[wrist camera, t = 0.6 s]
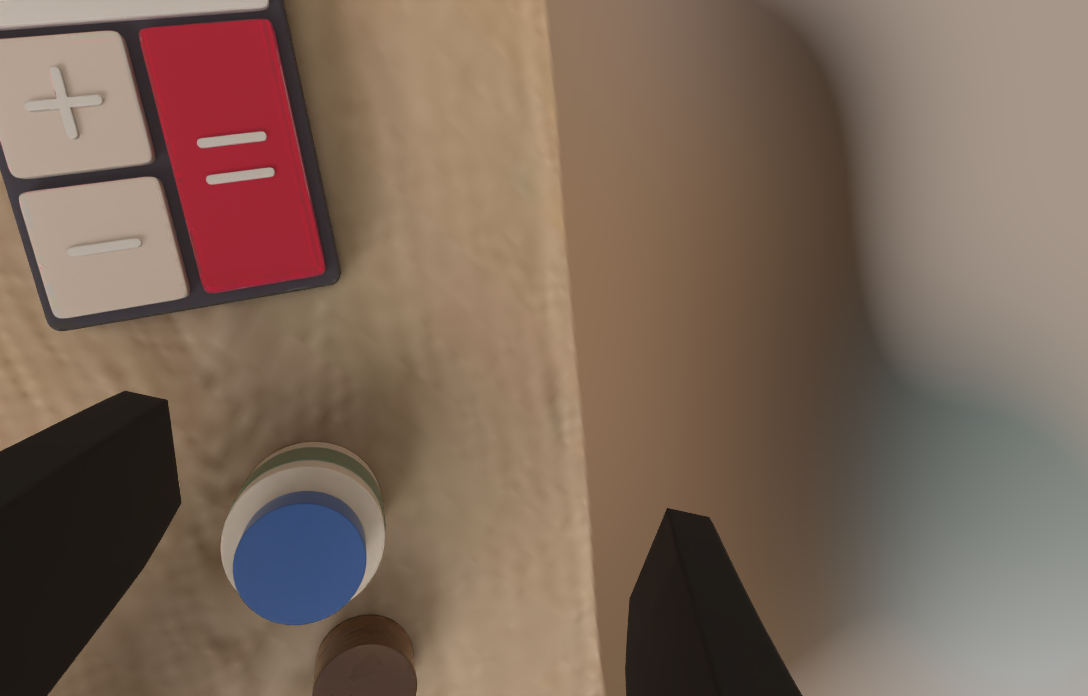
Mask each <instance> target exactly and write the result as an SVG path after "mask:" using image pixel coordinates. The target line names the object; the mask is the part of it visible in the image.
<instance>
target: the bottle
mask: <svg viewBox="0 0 1088 696" xmlns="http://www.w3.org/2000/svg"><path fill="white" fill-rule="evenodd" d="M384 546H385V516H384V508H383V500H382V496H381V492H380V488H379V485H378V482H377V480H376V478H375V476H374V474H373V472H372V471H371V469H370V468H369V467H368V466H367V464H366V463H365V462H364V461H363V460H362V459H361V458H360V457H358V456H357V455H355V454H354V453H353V452H351V451H349V450H347V449H345V448H343V447H340V446H338V445H334V444H330V443H324V442H304V443H298V444H294V445H290V446H288V447H285V448H282V449H280V450H278V451H276V452H275V453H273V454H271V455H270V456H268V457H267V458H266V459H264V460H263V461H262V462H261V463H260V464H259V465H258V466H257V467H256V468H255V469H254V471H253V472H252V473H251V475H250V476H249V477H248V479H247V480H246V481H245V483H244V485H243V486H242V488H241V489H240V491H239V493H238V495H237V497H236V499H235V500H234V502H233V504H232V506H231V509H230V511H229V513H228V516H227V519H226V521H225V524H224V527H223V530H222V536H221V559H222V564H223V567H224V570H225V573H226V575H227V577H228V579H229V581H230V582H231V584H232V586H233V587H234V589H235V590H236V591H237V592H238V593H239V595H240V597H241V598H242V600H243V601H244V603H245V604H246V605H247V606H248V607H249V608H250V609H251V610H252V611H254V612H255V613H256V614H258V615H259V616H261V617H263V618H265V619H267V620H269V621H272V622H276V623H279V624H285V625H303V624H309V623H313V622H317V621H320V620H322V619H325V618H327V617H329V616H331V615H332V614H334V613H336V612H337V611H338V610H340V609H341V608H342V607H344V606H345V605H346V604H347V603H348V602H349V601H350V600H351V599H353V598H354V597H355V596H357V595H358V594H359V593H360V592H361V591H362V590H363V589H364V588H365V587H366V585H367V584H368V583H369V582H370V580H371V579H372V577H373V576H374V574H375V573H376V571H377V569H378V567H379V564H380V562H381V559H382V556H383V552H384Z"/></svg>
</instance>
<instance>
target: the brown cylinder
mask: <svg viewBox="0 0 1088 696" xmlns="http://www.w3.org/2000/svg"><path fill="white" fill-rule="evenodd" d="M416 691H417V678H416V671H415V665H414V658H413V651H412V646H411V642H410V639H409V637H408V635H407V634H406V632H405V631H404V630H403V628H402V627H401V626H399V625H398V624H397V623H395V622H394V621H392V620H390V619H388V618H385V617H382V616H376V615H364V616H359V617H355V618H352V619H349V620H347V621H345V622H343V623H342V624H340V625H338V626H337V627H336V628H334V629H333V630H332V631H331V632H330V633H329V634H328V636H327V637H326V638H325V639H324V641H323V643H322V644H321V646H320V648H319V651H318V654H317V659H316V666H315V676H314V685H313V696H416Z"/></svg>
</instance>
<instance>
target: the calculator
mask: <svg viewBox="0 0 1088 696" xmlns="http://www.w3.org/2000/svg"><path fill="white" fill-rule="evenodd" d="M0 170H1V173H2V176H3V179H4V183H5V186H6V189H7V192H8V196H9V199H10V202H11V206H12V209H13V212H14V215H15V219H16V222H17V225H18V229H19V232H20V235H21V238H22V242H23V245H24V248H25V251H26V255H27V258H28V261H29V265H30V268H31V271H32V274H33V278H34V281H35V284H36V288H37V291H38V294H39V297H40V301H41V304H42V307H43V310H44V314H45V317H46V320H47V322H48V324H49V326H50V327H51V328H53V329H55V330H57V331H67V330H74V329H80V328H85V327H91V326H97V325H103V324H109V323H114V322H120V321H126V320H132V319H138V318H143V317H149V316H155V315H161V314H167V313H172V312H178V311H184V310H190V309H195V308H201V307H207V306H213V305H219V304H224V303H230V302H236V301H242V300H248V299H253V298H259V297H265V296H271V295H277V294H282V293H288V292H294V291H300V290H306V289H311V288H317V287H323V286H328V285H332V284H335V283H336V282H337V281H338V280H339V278H340V274H341V269H340V264H339V259H338V254H337V250H336V245H335V240H334V235H333V231H332V226H331V221H330V217H329V212H328V207H327V203H326V198H325V193H324V189H323V184H322V179H321V175H320V170H319V165H318V161H317V156H316V151H315V147H314V142H313V137H312V133H311V128H310V123H309V119H308V114H307V109H306V105H305V100H304V95H303V91H302V86H301V81H300V77H299V72H298V67H297V63H296V58H295V53H294V48H293V44H292V39H291V34H290V29H289V24H288V20H287V15H286V10H285V5H284V1H283V0H0Z"/></svg>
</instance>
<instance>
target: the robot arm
mask: <svg viewBox="0 0 1088 696" xmlns="http://www.w3.org/2000/svg"><path fill="white" fill-rule="evenodd" d="M180 505H181V496H180V488H179V481H178V473H177V466H176V458H175V451H174V443H173V436H172V428H171V421H170V413H169V406H168V400H165V399H161V398H156V397H152V396H147V395H142V394H138V393H133V392H128V391H123V392H121V393H119V394H117V395H115V396H112V397H110V398H108V399H106V400H104V401H101V402H99V403H97V404H95V405H93V406H91V407H89V408H87V409H85V410H83V411H81V412H79V413H77V414H75V415H73V416H71V417H69V418H67V419H65V420H63V421H61V422H59V423H57V424H55V425H53V426H51V427H49V428H47V429H45V430H43V431H41V432H39V433H37V434H35V435H33V436H31V437H29V438H27V439H25V440H23V441H21V442H19V443H16V444H14V445H12V446H10V447H8V448H6V449H4V450H2V451H0V696H47V695H48V694H49V692H50V691H51V690H52V689H53V687H54V686H55V685H56V683H57V682H58V681H59V679H60V678H61V677H62V675H63V674H64V673H65V672H66V670H67V669H68V668H69V666H70V665H71V664H72V662H73V661H74V660H75V658H76V657H77V656H78V654H79V653H80V652H81V651H82V649H83V648H84V647H85V645H86V644H87V643H88V641H89V640H90V639H91V637H92V636H93V635H94V634H95V632H96V631H97V630H98V628H99V627H100V626H101V624H102V623H103V622H104V620H105V619H106V618H107V616H108V615H109V614H110V612H111V611H112V610H113V609H114V607H115V606H116V605H117V603H118V602H119V601H120V599H121V598H122V597H123V595H124V594H125V593H126V591H127V590H128V589H129V587H130V586H131V585H132V583H133V582H134V580H135V579H136V578H137V576H138V575H139V574H140V572H141V571H142V570H143V568H144V567H145V565H146V563H147V562H148V560H149V558H150V557H151V555H152V553H153V552H154V550H155V548H156V547H157V545H158V543H159V542H160V540H161V538H162V537H163V535H164V533H165V531H166V530H167V528H168V526H169V524H170V522H171V521H172V519H173V517H174V515H175V514H176V512H177V510H178V508H179V506H180ZM627 630H628V631H627V646H626V665H625V673H626V696H802V694H801V692H800V691H799V689H798V687H797V686H796V684H795V682H794V680H793V679H792V677H791V675H790V673H789V671H788V670H787V668H786V666H785V664H784V662H783V660H782V659H781V657H780V655H779V653H778V651H777V649H776V648H775V646H774V644H773V642H772V640H771V638H770V637H769V635H768V633H767V631H766V629H765V628H764V626H763V624H762V622H761V620H760V618H759V616H758V614H757V612H756V610H755V608H754V606H753V604H752V602H751V600H750V598H749V596H748V594H747V592H746V590H745V589H744V586H743V585H742V583H741V580H740V579H739V577H738V574H737V572H736V570H735V568H734V566H733V564H732V562H731V560H730V558H729V556H728V554H727V552H726V550H725V547H724V545H723V544H722V541H721V539H720V537H719V535H718V533H717V531H716V529H715V527H714V525H713V523H712V521H711V520H710V518H709V517H706V516H701V515H697V514H692V513H687V512H683V511H678V510H673V509H669V508H667V510H666V512H665V515H664V517H663V519H662V522H661V525H660V527H659V529H658V531H657V534H656V536H655V539H654V541H653V543H652V546H651V548H650V551H649V553H648V556H647V558H646V560H645V563H644V565H643V568H642V570H641V572H640V575H639V578H638V580H637V582H636V584H635V587H634V589H633V592H632V594H631V597H630V601H629V616H628V629H627Z"/></svg>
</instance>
